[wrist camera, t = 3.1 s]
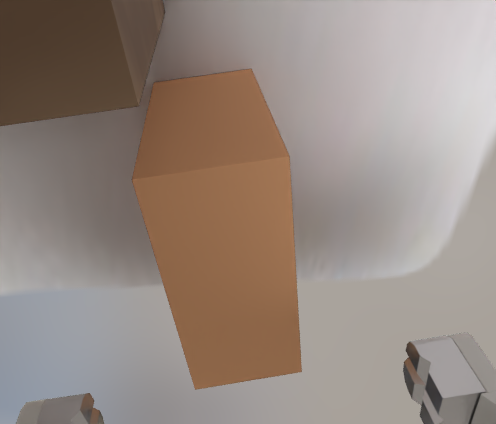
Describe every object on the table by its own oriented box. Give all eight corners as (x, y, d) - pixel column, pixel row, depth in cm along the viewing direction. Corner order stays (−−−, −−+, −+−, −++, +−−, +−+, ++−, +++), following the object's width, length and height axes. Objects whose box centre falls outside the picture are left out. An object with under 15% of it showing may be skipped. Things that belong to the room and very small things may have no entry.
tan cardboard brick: (153, 82, 17) (131, 179, 11) (251, 68, 17) (289, 156, 11) (193, 252, 22) (195, 389, 16) (268, 240, 22) (301, 372, 16)
